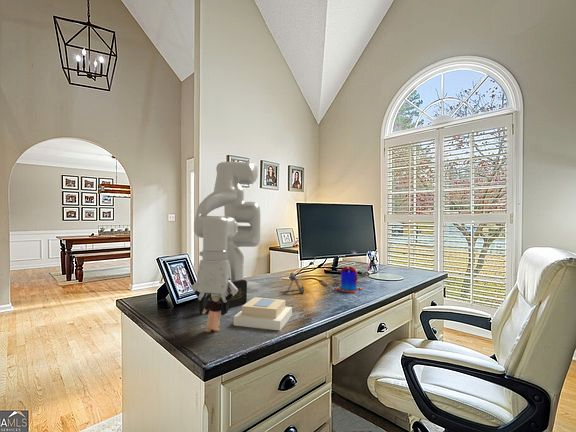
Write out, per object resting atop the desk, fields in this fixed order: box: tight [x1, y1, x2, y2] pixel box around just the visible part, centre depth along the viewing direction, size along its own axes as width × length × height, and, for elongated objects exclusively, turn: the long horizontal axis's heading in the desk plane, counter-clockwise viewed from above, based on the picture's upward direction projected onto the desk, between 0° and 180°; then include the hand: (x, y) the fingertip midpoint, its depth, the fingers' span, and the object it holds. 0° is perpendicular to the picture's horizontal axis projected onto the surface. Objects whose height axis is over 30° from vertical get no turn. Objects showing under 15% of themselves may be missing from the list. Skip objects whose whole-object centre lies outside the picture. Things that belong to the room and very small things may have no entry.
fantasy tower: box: [333, 265, 364, 294], centre depth 158 cm, size 12×12×12 cm
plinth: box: [233, 296, 293, 331], centre depth 110 cm, size 16×16×6 cm
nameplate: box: [198, 279, 248, 315], centre depth 122 cm, size 21×2×10 cm, turn 138°
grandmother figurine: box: [201, 294, 222, 333], centre depth 99 cm, size 8×4×13 cm, turn 119°
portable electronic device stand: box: [286, 272, 305, 295], centre depth 152 cm, size 9×8×8 cm
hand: (213, 312), depth 99 cm, fingers closed on grandmother figurine, 6 cm apart
